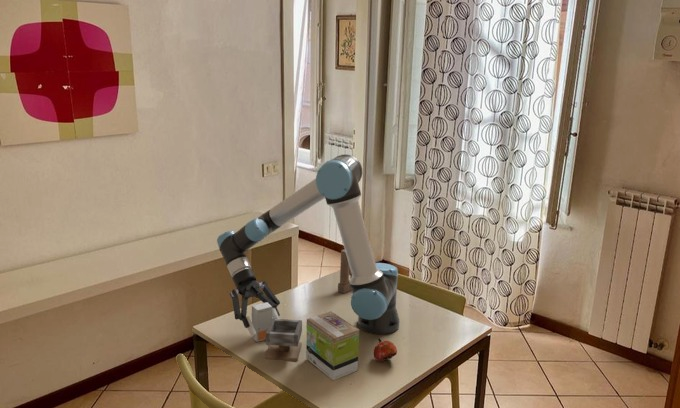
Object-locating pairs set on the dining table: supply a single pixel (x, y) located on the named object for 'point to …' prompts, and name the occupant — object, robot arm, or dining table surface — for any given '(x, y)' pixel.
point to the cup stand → (284, 339)
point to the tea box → (332, 345)
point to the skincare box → (261, 320)
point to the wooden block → (344, 274)
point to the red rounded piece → (384, 350)
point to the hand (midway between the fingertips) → (267, 330)
